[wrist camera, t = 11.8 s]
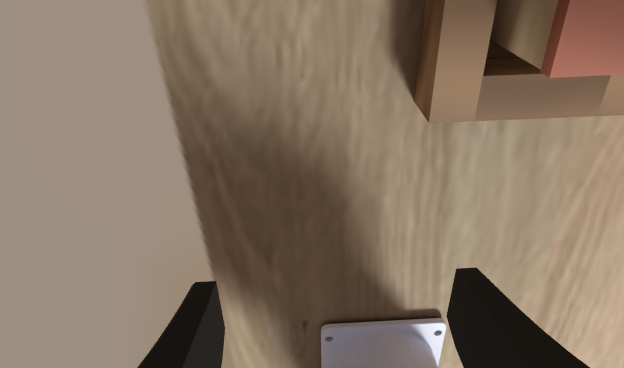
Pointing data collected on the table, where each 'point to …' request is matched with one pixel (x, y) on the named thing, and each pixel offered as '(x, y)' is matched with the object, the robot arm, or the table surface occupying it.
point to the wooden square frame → (495, 74)
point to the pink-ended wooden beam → (563, 35)
